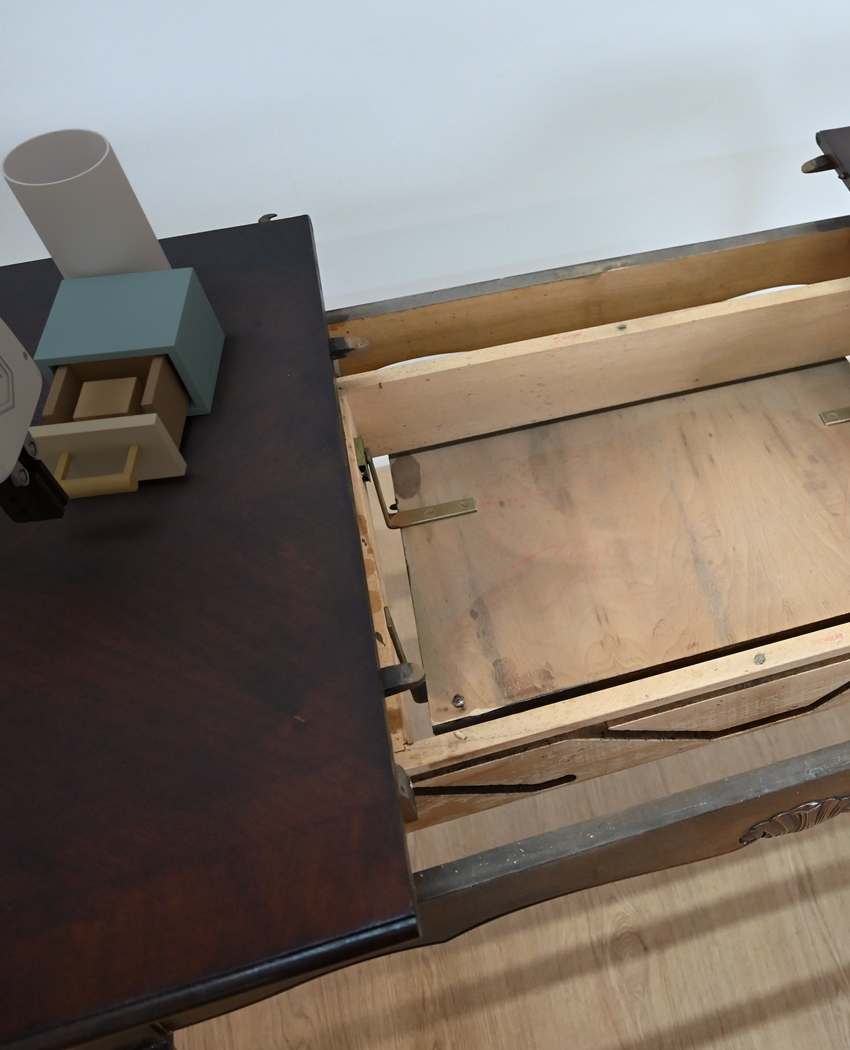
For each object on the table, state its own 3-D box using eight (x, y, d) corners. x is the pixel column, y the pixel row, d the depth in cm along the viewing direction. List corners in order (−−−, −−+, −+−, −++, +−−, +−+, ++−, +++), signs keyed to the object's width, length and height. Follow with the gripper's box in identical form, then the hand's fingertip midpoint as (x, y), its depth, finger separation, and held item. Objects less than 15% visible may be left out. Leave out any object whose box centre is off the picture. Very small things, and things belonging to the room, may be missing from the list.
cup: (74, 334, 93) (-23, 177, 81) (127, 279, 98) (42, 122, 86) (155, 349, 92) (69, 191, 79) (204, 291, 97) (130, 135, 84)
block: (96, 453, 81) (72, 418, 78) (106, 417, 84) (83, 381, 81) (149, 447, 82) (127, 412, 79) (157, 412, 84) (136, 376, 81)
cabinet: (210, 414, 87) (174, 345, 81) (78, 428, 86) (32, 360, 80) (225, 335, 93) (192, 266, 87) (102, 348, 92) (61, 279, 86)
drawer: (176, 517, 79) (144, 466, 74) (47, 532, 78) (6, 482, 73) (200, 397, 87) (173, 344, 82) (84, 409, 86) (49, 357, 81)
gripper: (-106, 377, 50) (77, 595, 64) (-20, 199, 59) (123, 424, 73) (-273, 395, 49) (-50, 611, 63) (-159, 213, 58) (13, 437, 73)
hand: (43, 511), depth 68 cm, fingers closed
